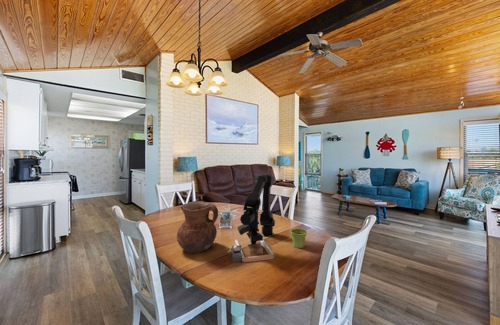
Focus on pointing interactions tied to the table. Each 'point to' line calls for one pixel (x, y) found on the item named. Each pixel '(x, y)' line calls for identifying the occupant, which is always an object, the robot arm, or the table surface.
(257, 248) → the crate
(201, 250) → the jug
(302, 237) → the plant pot
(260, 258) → the bay
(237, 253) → the winch
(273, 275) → the table surface
